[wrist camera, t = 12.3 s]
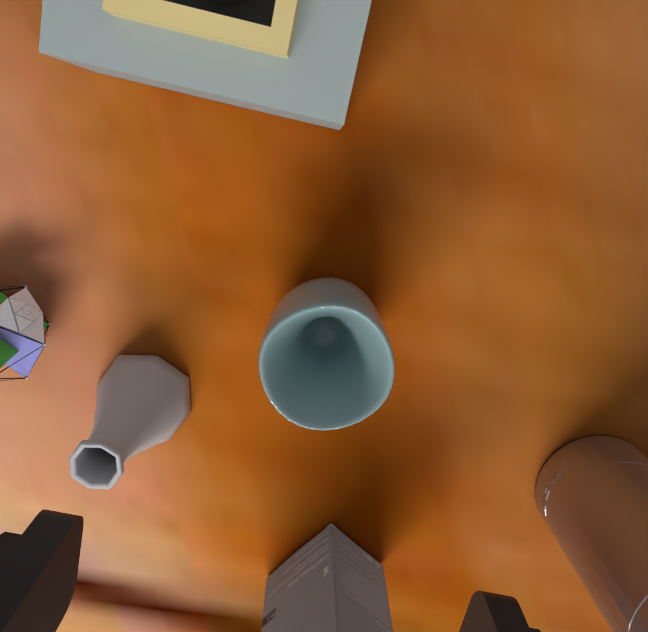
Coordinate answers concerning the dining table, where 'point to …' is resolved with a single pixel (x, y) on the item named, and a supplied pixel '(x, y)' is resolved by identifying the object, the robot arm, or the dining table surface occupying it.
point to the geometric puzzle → (20, 331)
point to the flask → (130, 416)
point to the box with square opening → (220, 49)
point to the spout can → (225, 2)
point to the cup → (326, 355)
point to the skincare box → (327, 589)
